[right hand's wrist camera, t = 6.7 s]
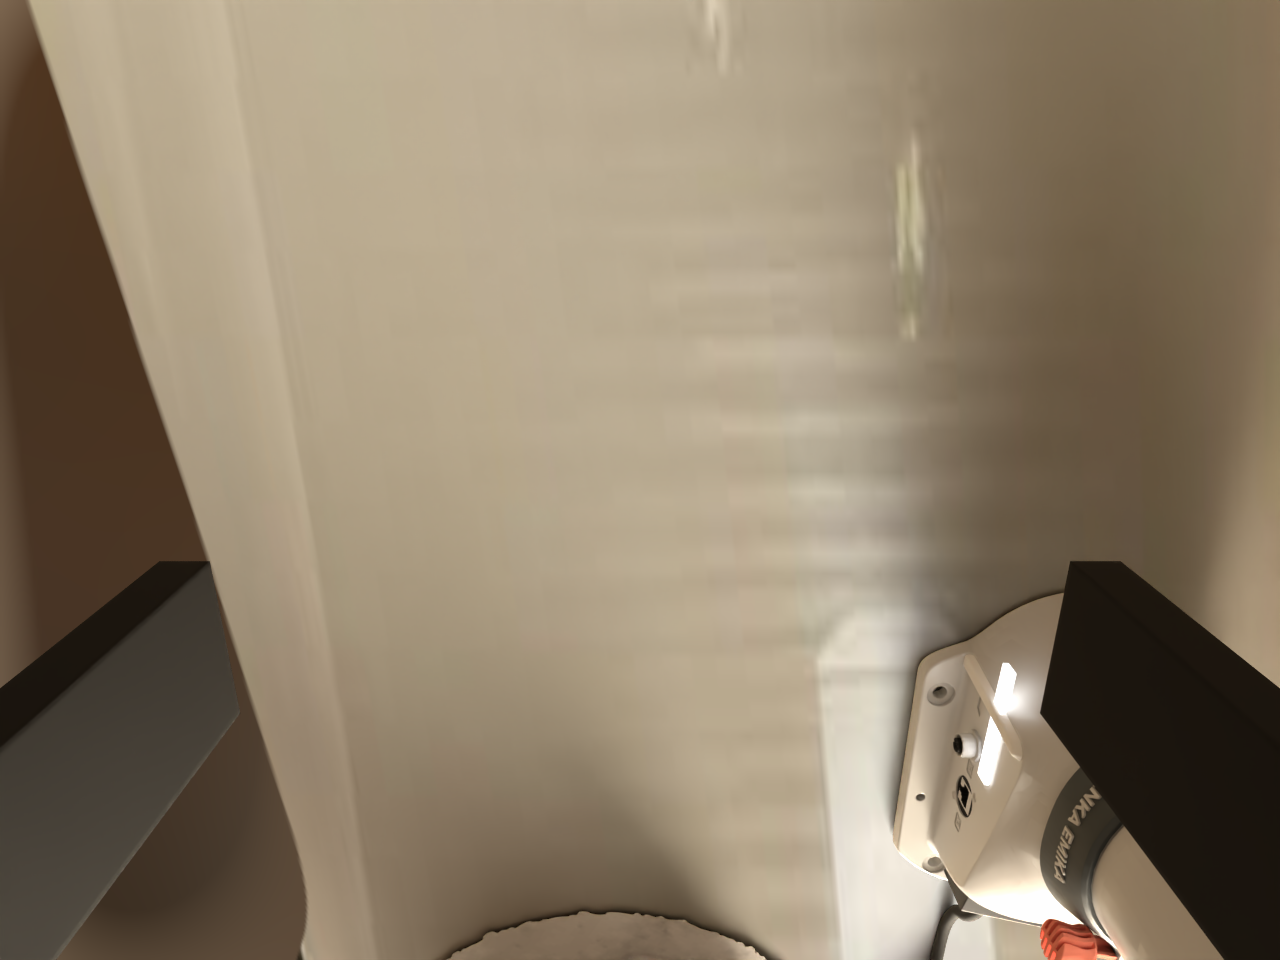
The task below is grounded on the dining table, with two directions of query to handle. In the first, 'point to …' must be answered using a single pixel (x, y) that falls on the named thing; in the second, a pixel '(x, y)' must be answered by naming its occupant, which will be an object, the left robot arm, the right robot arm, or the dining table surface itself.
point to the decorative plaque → (606, 940)
